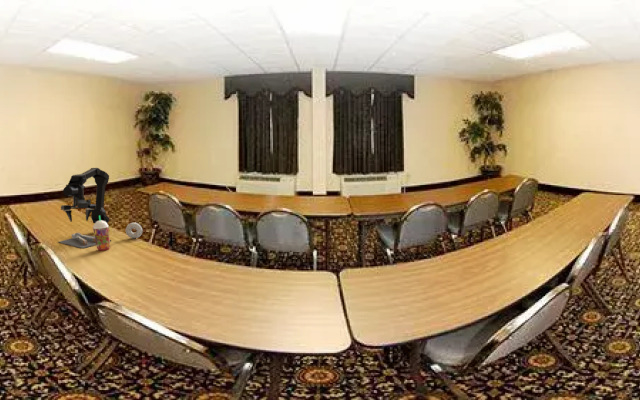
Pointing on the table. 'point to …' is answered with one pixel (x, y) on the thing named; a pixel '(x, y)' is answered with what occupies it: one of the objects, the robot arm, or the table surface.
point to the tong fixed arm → (84, 237)
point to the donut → (130, 233)
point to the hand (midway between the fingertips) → (79, 221)
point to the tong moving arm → (81, 240)
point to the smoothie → (101, 235)
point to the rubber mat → (78, 243)
